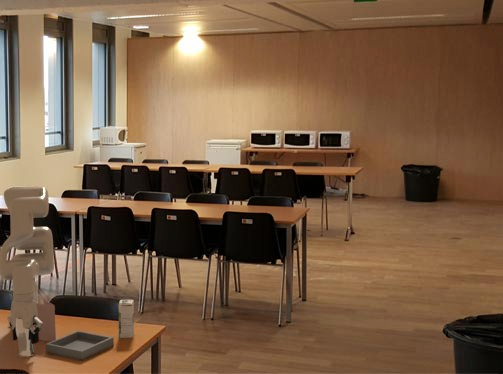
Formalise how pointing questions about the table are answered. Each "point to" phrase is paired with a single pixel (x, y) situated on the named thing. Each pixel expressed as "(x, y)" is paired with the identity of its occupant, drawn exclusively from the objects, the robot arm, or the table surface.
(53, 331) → the greeting card
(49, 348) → the tray
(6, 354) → the table surface
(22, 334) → the beer glass
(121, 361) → the table surface
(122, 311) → the syrup box
